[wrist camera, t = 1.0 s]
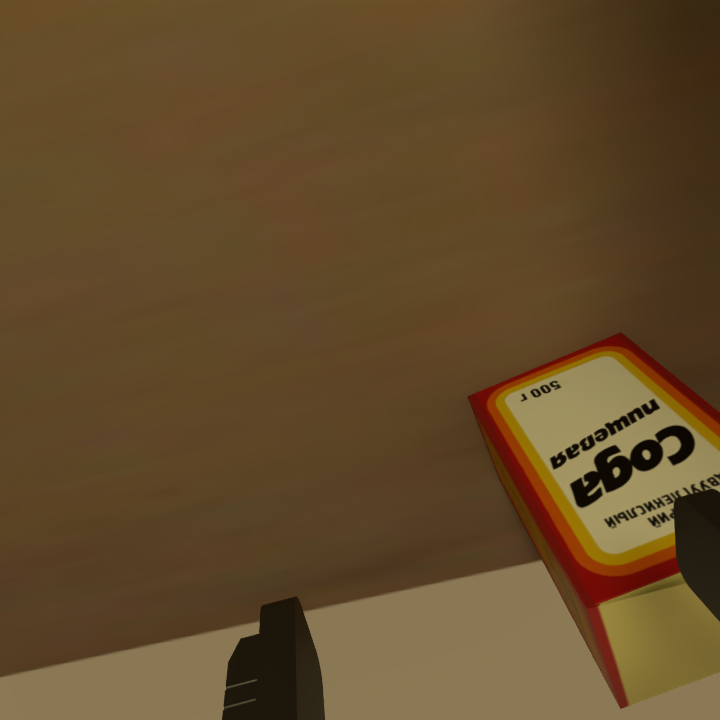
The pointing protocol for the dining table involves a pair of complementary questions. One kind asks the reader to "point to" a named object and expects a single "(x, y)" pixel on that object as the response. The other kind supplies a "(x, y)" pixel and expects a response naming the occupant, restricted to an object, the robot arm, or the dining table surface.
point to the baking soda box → (612, 503)
